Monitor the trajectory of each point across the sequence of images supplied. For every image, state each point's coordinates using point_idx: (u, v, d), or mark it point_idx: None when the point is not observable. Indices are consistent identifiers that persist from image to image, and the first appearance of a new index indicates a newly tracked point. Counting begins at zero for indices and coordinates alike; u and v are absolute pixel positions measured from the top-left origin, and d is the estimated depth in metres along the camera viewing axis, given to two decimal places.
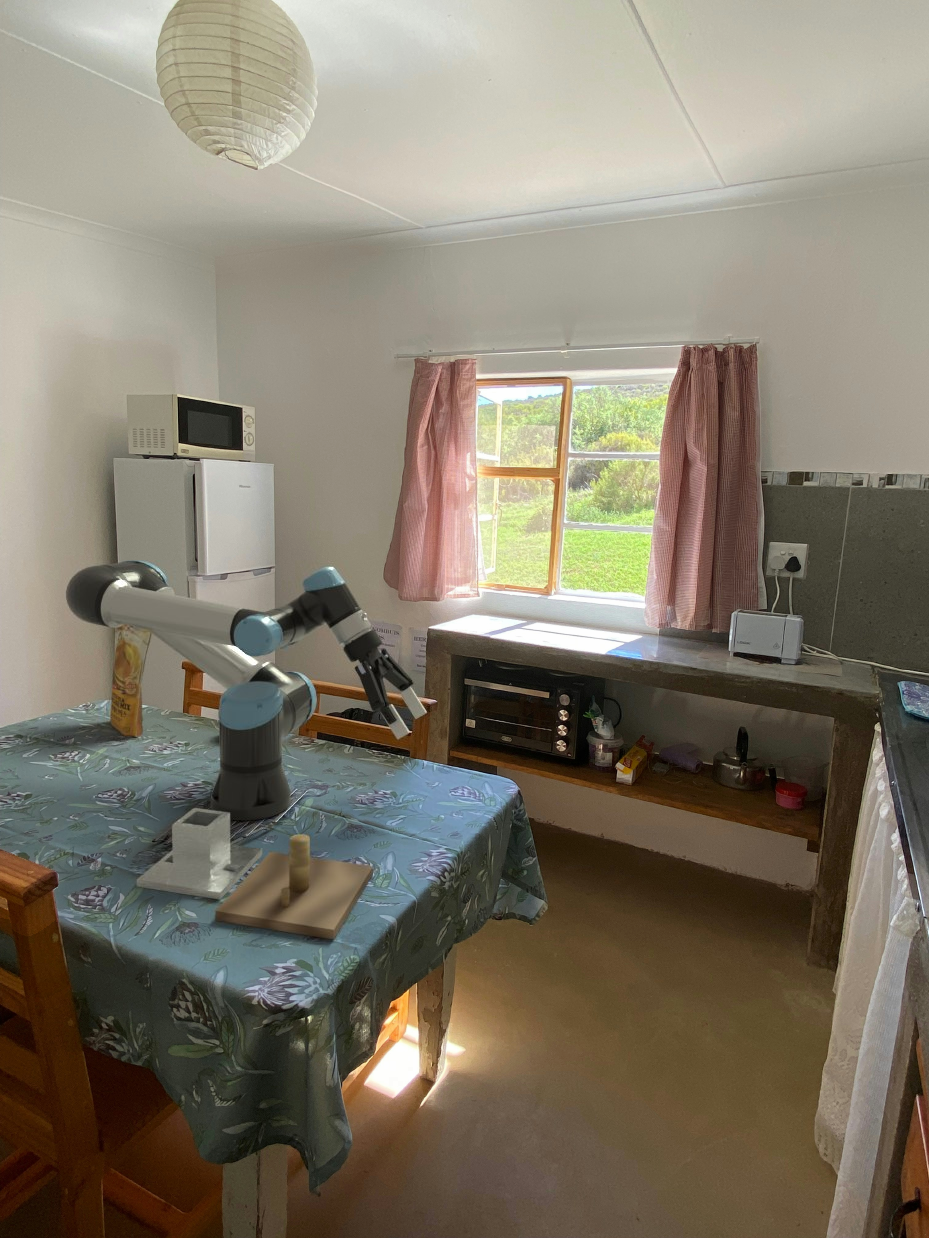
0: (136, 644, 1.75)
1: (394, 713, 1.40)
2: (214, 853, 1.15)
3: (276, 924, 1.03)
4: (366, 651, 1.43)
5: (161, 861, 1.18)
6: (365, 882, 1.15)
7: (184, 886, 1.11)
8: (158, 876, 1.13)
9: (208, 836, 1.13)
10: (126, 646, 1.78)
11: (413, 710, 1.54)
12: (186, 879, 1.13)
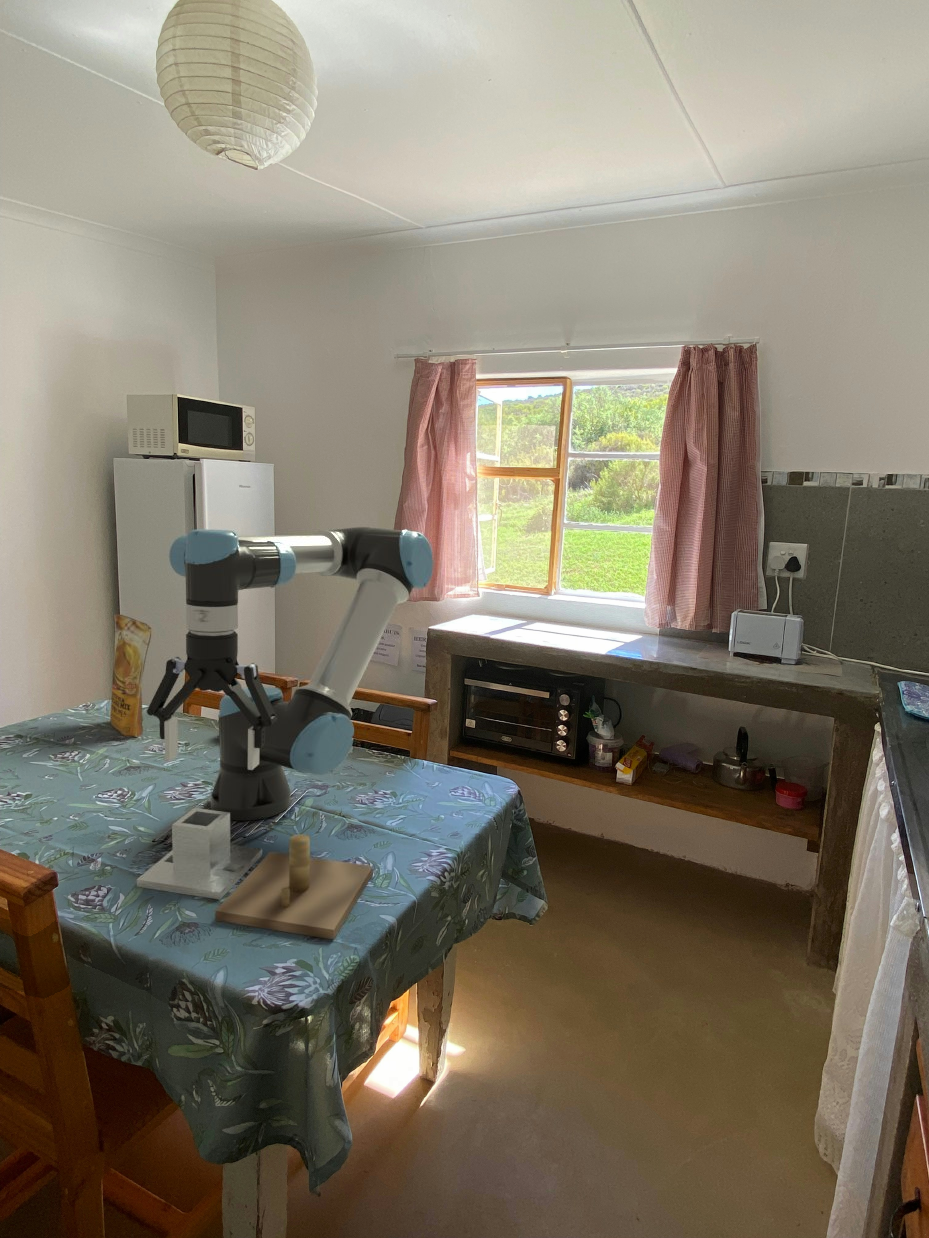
0: (136, 644, 1.75)
1: None
2: (214, 853, 1.15)
3: (276, 924, 1.03)
4: None
5: (161, 861, 1.18)
6: (365, 882, 1.15)
7: (184, 886, 1.11)
8: (158, 876, 1.13)
9: (208, 836, 1.13)
10: (126, 646, 1.78)
11: None
12: (186, 879, 1.13)
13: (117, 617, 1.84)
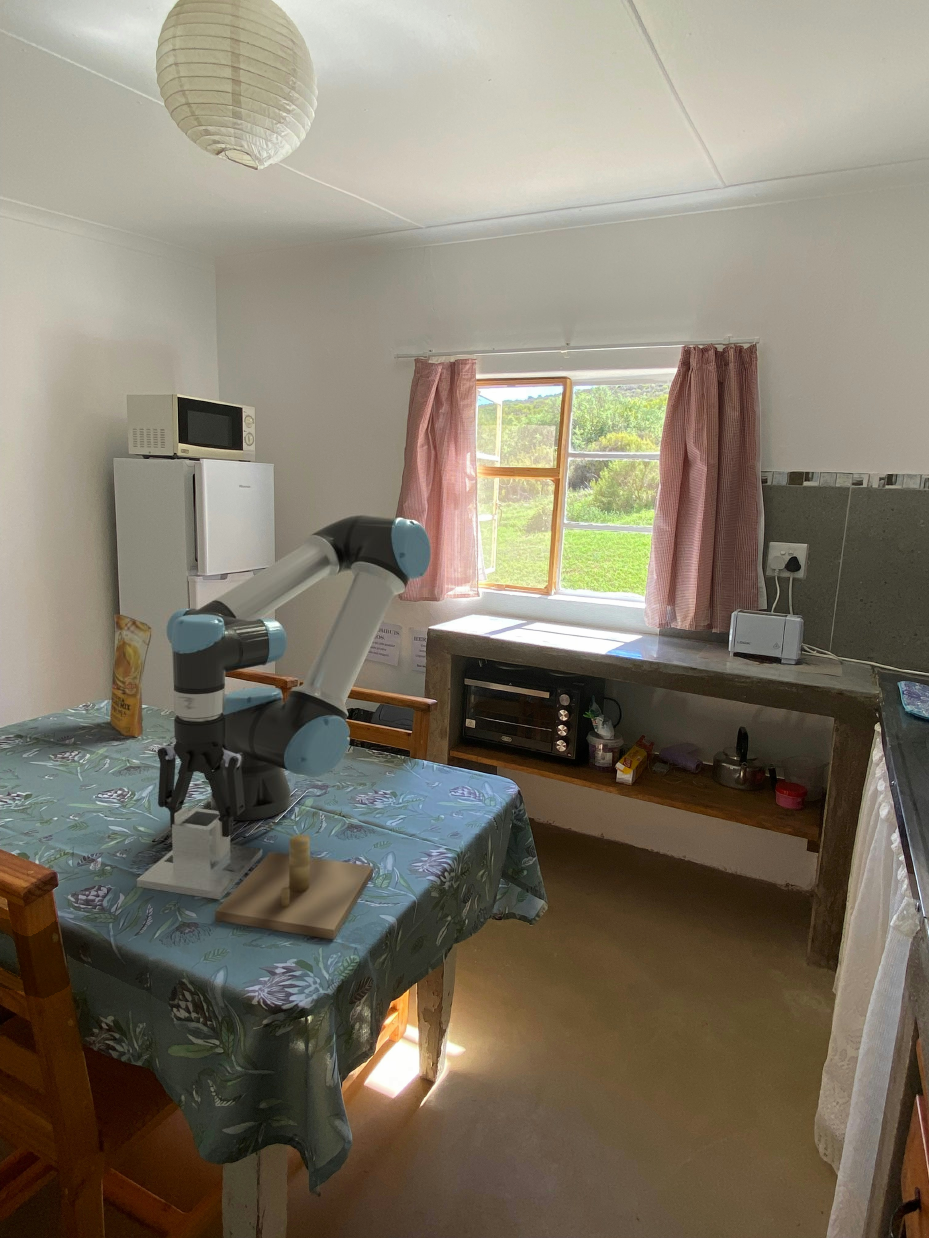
0: (136, 644, 1.75)
1: None
2: (214, 853, 1.15)
3: (276, 924, 1.03)
4: None
5: (161, 861, 1.18)
6: (365, 882, 1.15)
7: (184, 886, 1.11)
8: (158, 876, 1.13)
9: (208, 836, 1.13)
10: (126, 646, 1.78)
11: None
12: (186, 879, 1.13)
13: (117, 617, 1.84)
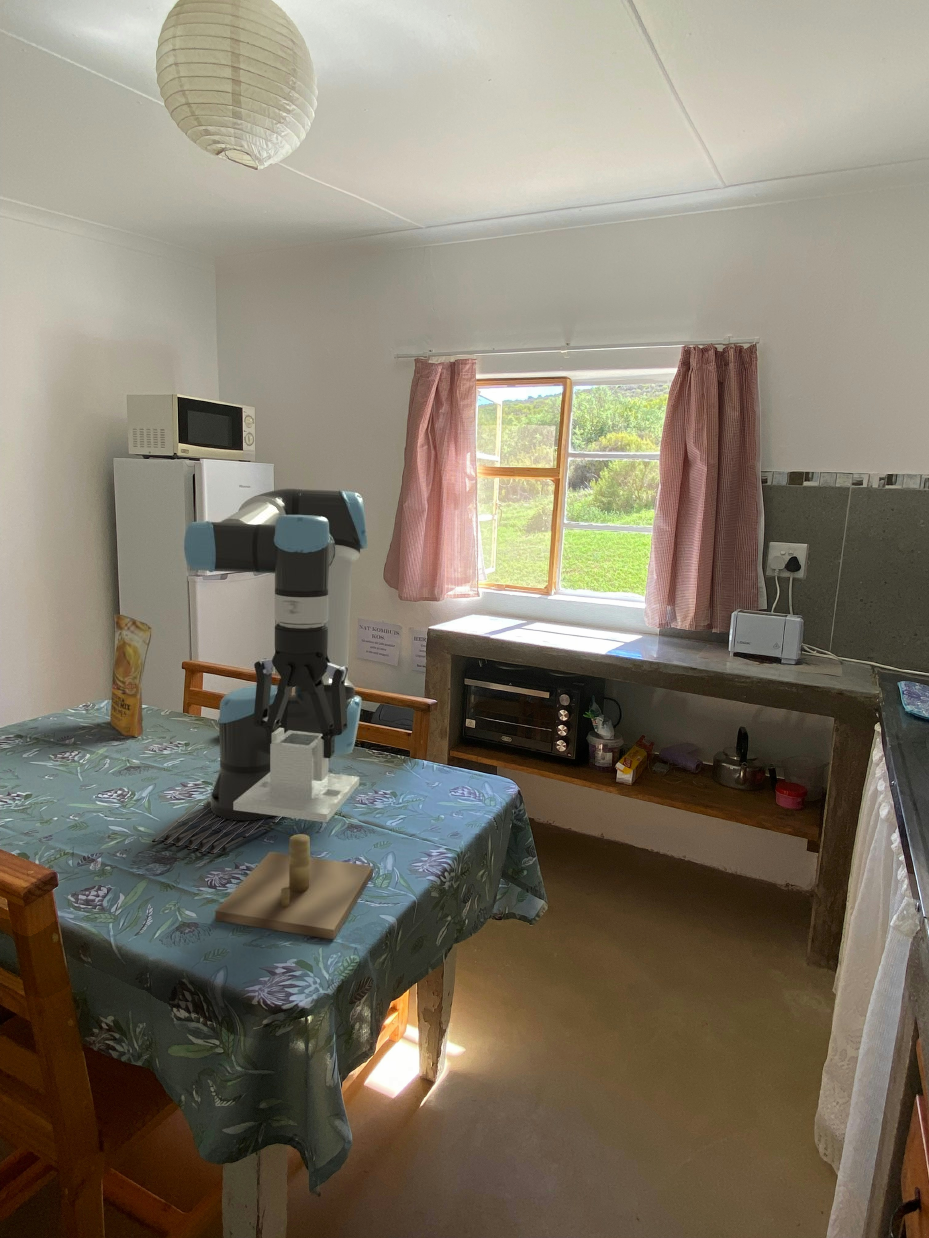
0: (136, 644, 1.75)
1: None
2: (315, 775, 1.06)
3: (276, 924, 1.03)
4: None
5: (255, 786, 1.08)
6: (365, 882, 1.15)
7: (286, 809, 1.01)
8: (256, 799, 1.04)
9: (310, 755, 1.04)
10: (126, 646, 1.78)
11: None
12: (287, 802, 1.03)
13: (117, 617, 1.84)
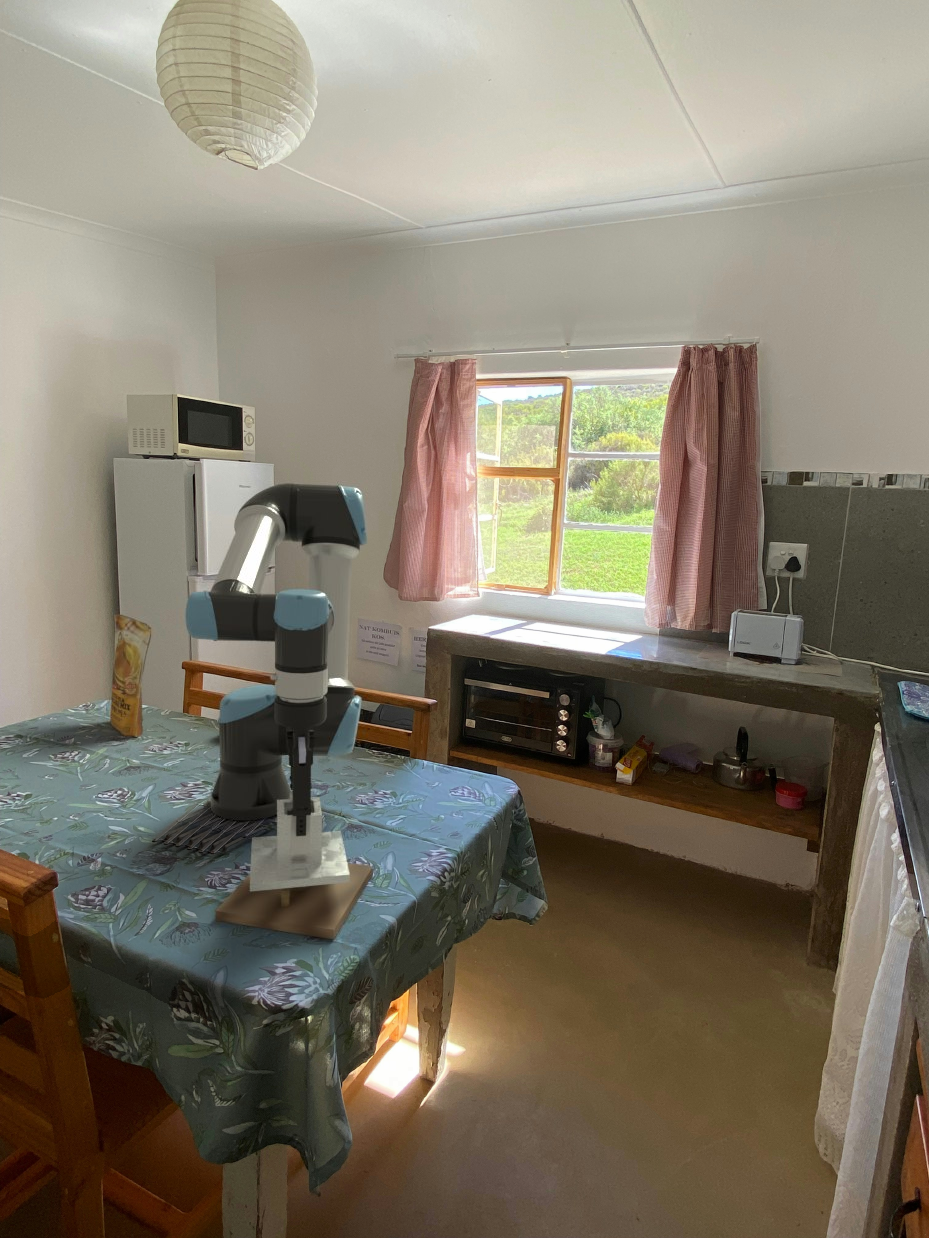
0: (136, 644, 1.75)
1: None
2: (287, 846, 1.06)
3: (276, 924, 1.03)
4: None
5: None
6: (365, 882, 1.15)
7: None
8: (262, 844, 1.13)
9: (277, 824, 1.06)
10: (126, 646, 1.78)
11: None
12: (264, 858, 1.09)
13: (117, 617, 1.84)
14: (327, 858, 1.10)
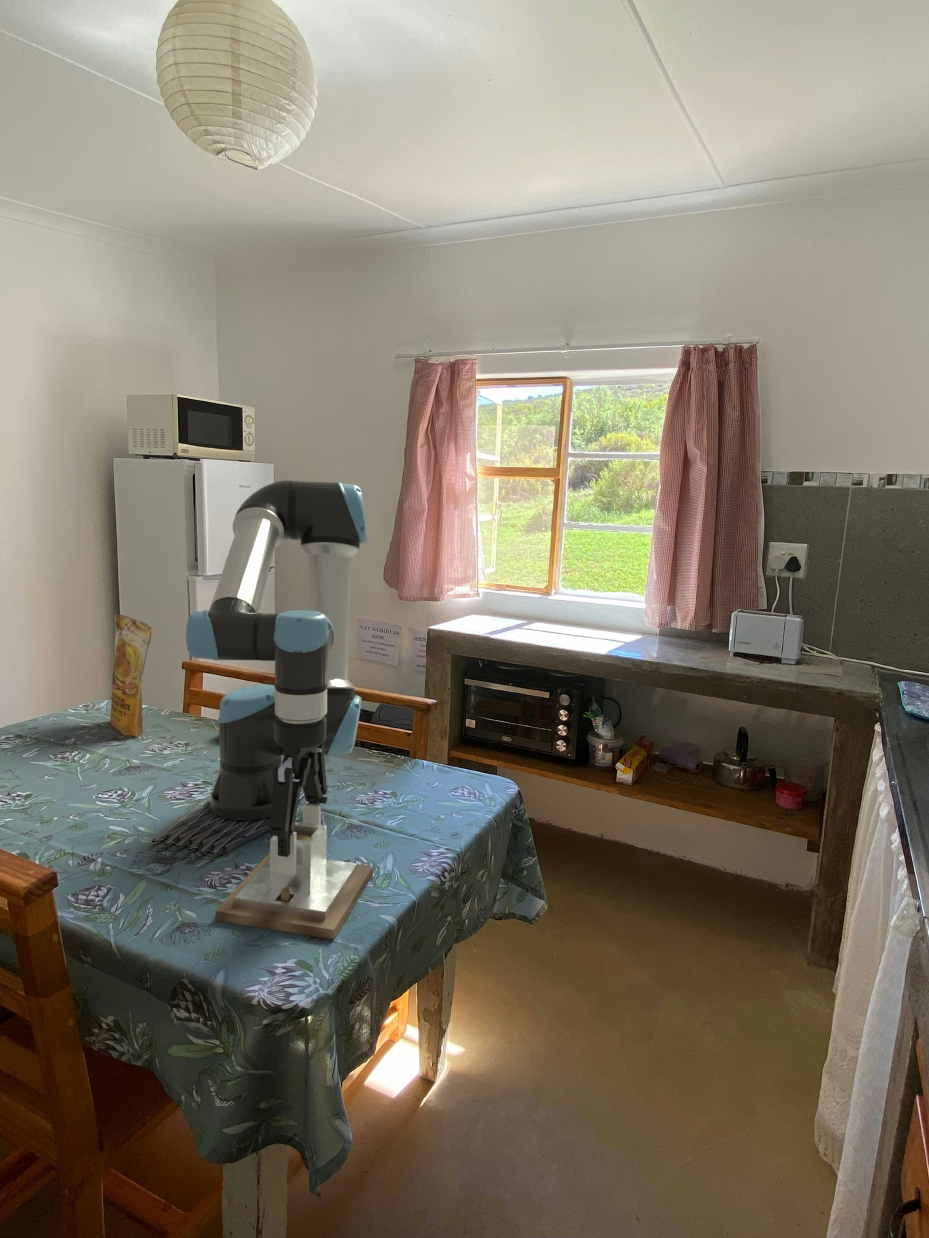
0: (136, 644, 1.75)
1: None
2: None
3: (276, 924, 1.03)
4: None
5: None
6: (365, 882, 1.15)
7: (253, 877, 1.12)
8: None
9: (270, 845, 1.08)
10: (126, 646, 1.78)
11: None
12: (267, 876, 1.12)
13: (117, 617, 1.84)
14: (320, 889, 1.09)
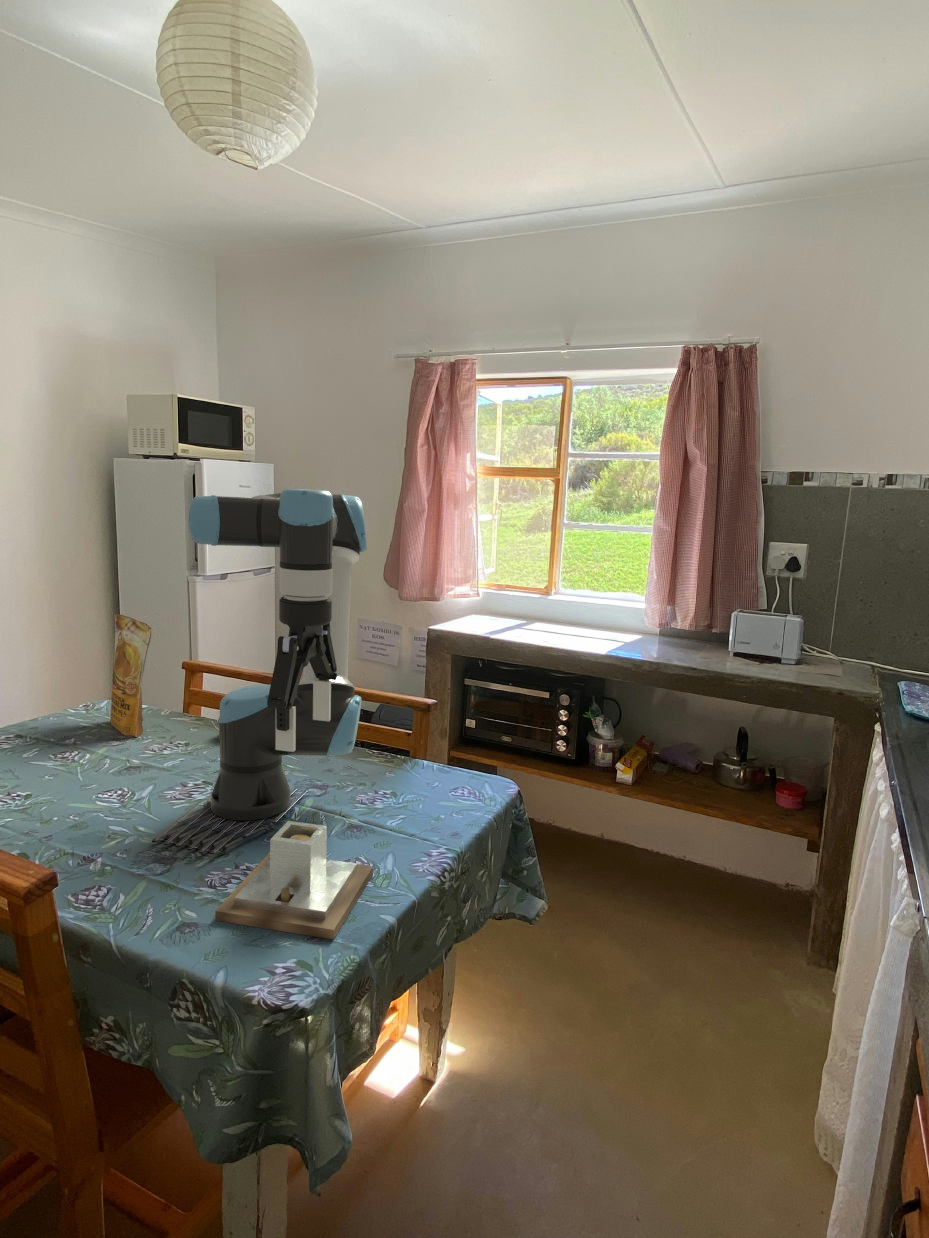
0: (136, 644, 1.75)
1: None
2: (279, 869, 1.08)
3: (276, 924, 1.03)
4: None
5: None
6: (365, 882, 1.15)
7: (253, 877, 1.12)
8: None
9: (270, 845, 1.08)
10: (126, 646, 1.78)
11: None
12: (267, 876, 1.12)
13: (117, 617, 1.84)
14: (320, 889, 1.09)
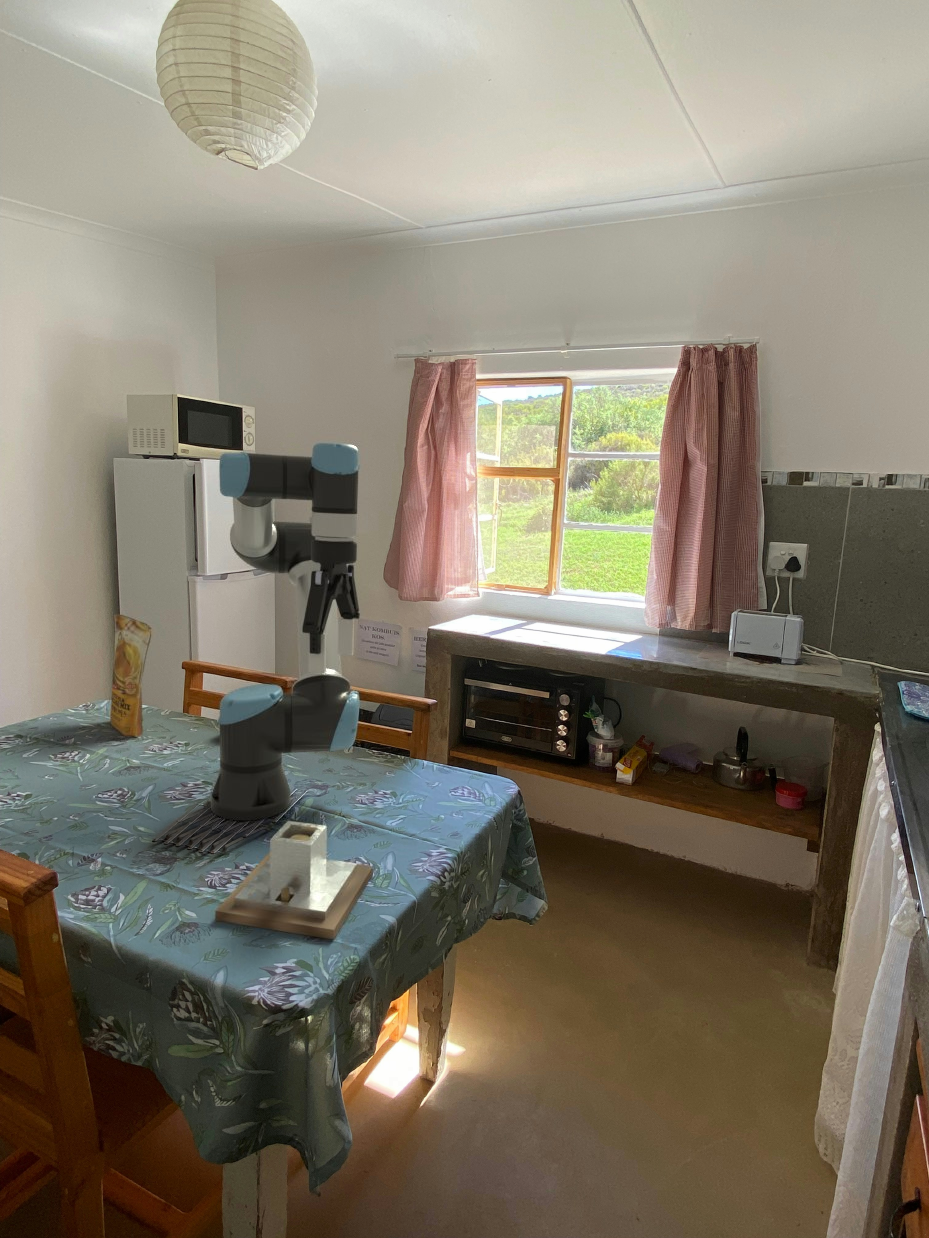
0: (136, 644, 1.75)
1: None
2: (279, 869, 1.08)
3: (276, 924, 1.03)
4: None
5: None
6: (365, 882, 1.15)
7: (253, 877, 1.12)
8: None
9: (270, 845, 1.08)
10: (126, 646, 1.78)
11: None
12: (267, 876, 1.12)
13: (117, 617, 1.84)
14: (320, 889, 1.09)
